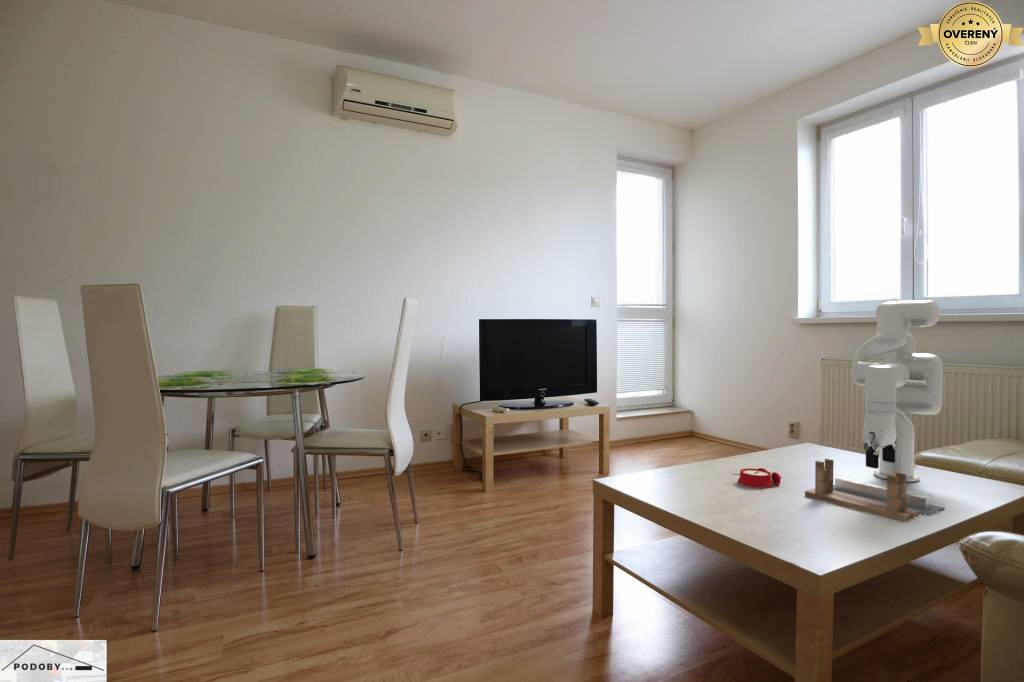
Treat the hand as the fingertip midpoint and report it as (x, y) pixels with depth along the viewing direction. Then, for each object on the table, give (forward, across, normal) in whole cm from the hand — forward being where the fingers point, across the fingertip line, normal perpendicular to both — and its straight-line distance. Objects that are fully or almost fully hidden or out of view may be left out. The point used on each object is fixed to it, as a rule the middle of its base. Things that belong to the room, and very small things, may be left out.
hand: (880, 464), depth 158 cm
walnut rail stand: (+9, +14, 0) cm, 16 cm away
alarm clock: (+10, +16, -28) cm, 34 cm away
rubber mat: (+10, +2, 0) cm, 10 cm away
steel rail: (+9, +1, 0) cm, 9 cm away
